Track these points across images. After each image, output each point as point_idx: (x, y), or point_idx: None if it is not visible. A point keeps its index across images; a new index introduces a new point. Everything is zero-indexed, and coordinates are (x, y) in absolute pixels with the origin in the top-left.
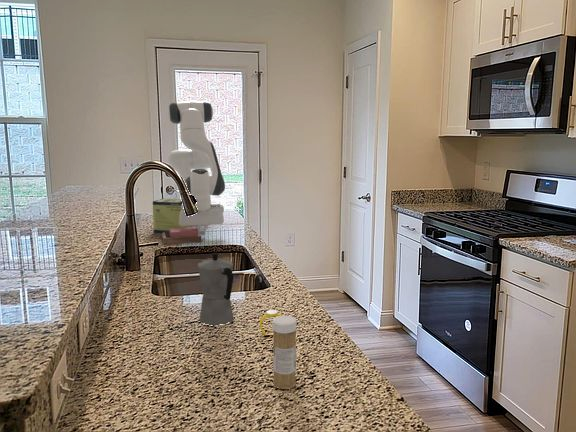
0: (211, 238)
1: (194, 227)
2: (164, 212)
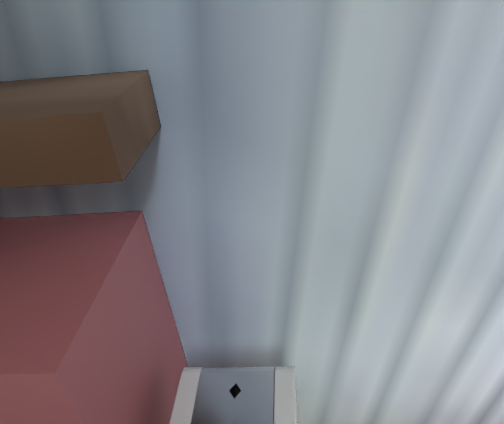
0: (378, 365)
1: (42, 421)
2: None
